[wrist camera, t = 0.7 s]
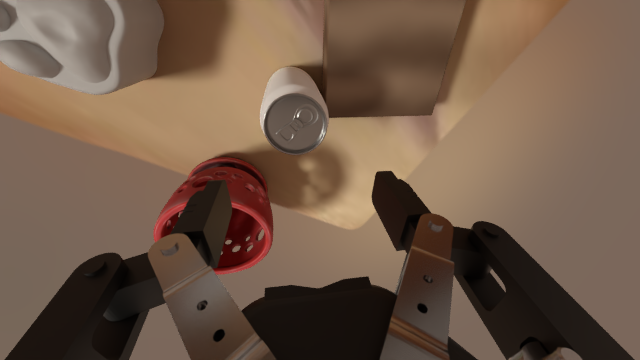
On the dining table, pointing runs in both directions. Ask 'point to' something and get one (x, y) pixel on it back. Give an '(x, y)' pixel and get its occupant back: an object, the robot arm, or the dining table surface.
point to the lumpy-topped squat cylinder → (82, 41)
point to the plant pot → (246, 210)
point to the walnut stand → (386, 55)
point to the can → (293, 112)
